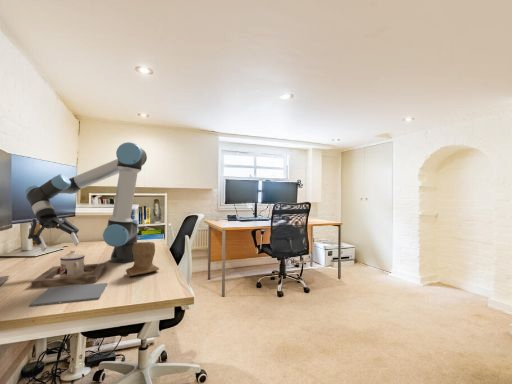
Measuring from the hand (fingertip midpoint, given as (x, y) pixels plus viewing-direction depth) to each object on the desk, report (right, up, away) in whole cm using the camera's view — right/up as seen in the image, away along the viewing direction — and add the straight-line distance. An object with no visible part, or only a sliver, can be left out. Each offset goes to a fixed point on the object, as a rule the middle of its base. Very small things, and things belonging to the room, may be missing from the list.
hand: (61, 246), depth 118 cm
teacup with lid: (+7, -13, -3) cm, 15 cm away
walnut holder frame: (+7, -13, -3) cm, 15 cm away
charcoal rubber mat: (+21, -13, -22) cm, 33 cm away
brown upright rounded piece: (+34, -14, +5) cm, 37 cm away
